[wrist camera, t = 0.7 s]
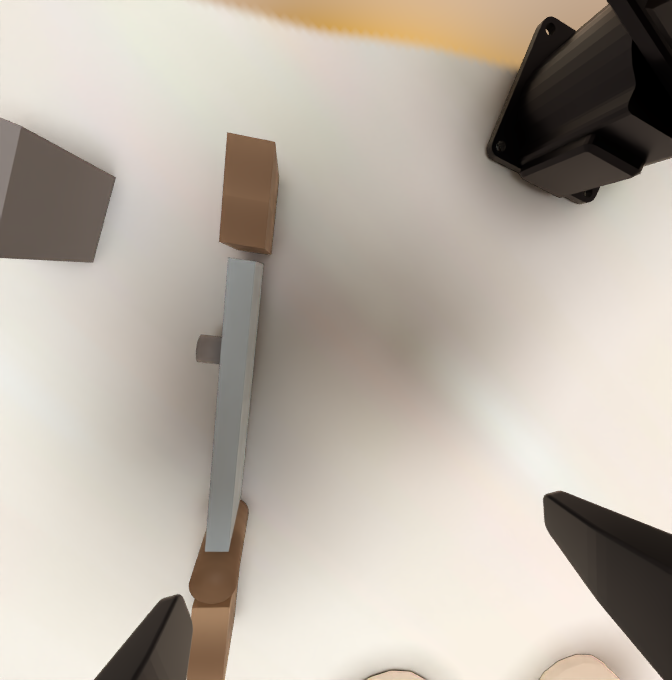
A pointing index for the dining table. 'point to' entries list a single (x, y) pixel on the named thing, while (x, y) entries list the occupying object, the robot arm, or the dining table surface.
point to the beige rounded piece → (396, 676)
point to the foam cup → (579, 669)
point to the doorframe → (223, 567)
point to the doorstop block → (48, 199)
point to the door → (231, 396)
